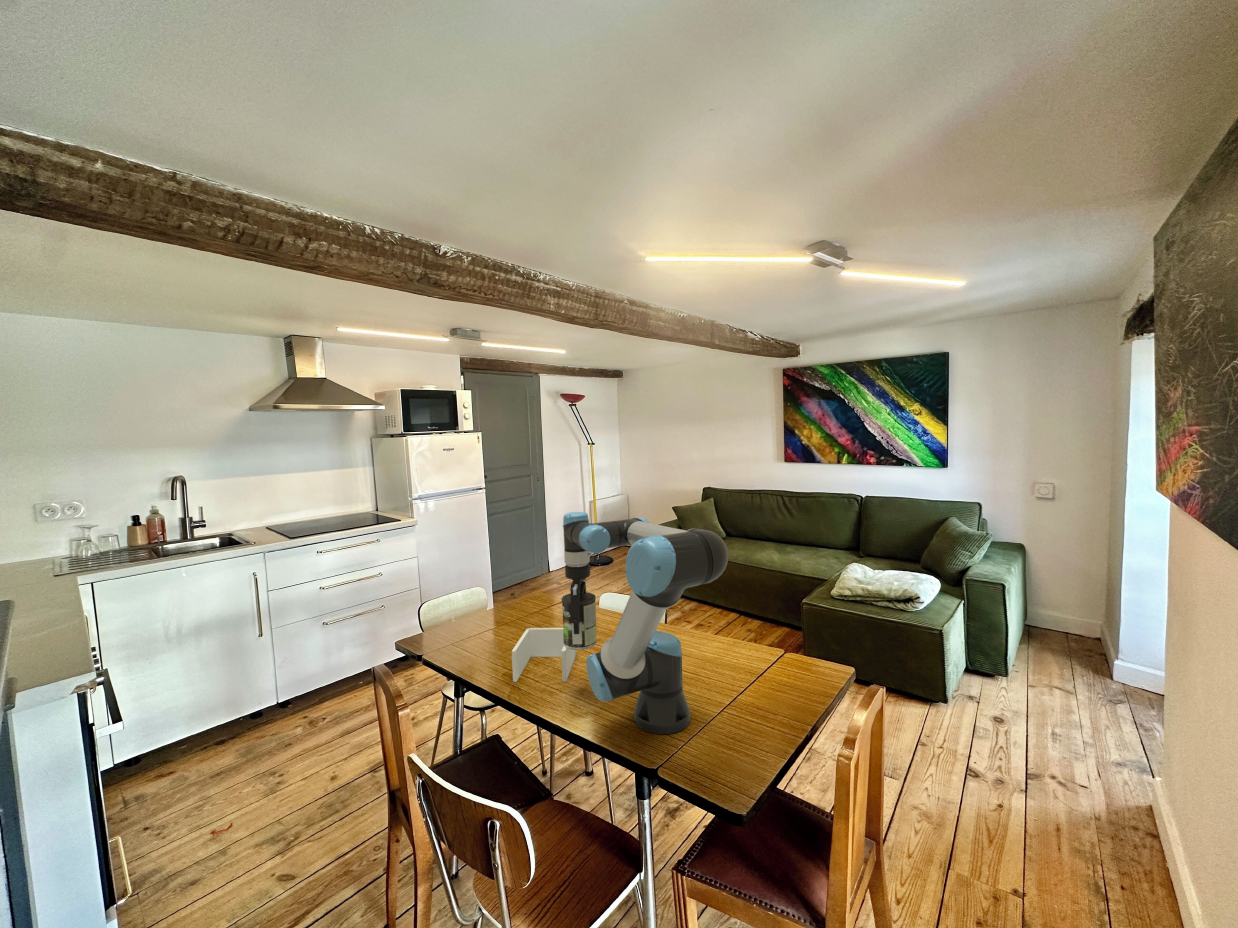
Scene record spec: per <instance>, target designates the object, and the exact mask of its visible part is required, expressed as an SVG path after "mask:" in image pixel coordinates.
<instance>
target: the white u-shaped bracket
mask: <svg viewBox="0 0 1238 928" xmlns="http://www.w3.org/2000/svg"><path fill="white" fill-rule="evenodd" d="M563 643H564V636H563V627H526V629H525V631H524V632H523V634H522V635H521V637H520V638H519V639H518V641H517V643H516V644H515V645H514V647H513V649H512V650H511V666H512V682H513V683H514V682H515V683H516V682H517V681H518V680H519V678H520V676H521V675H522V673H523V671H524V670H525V667H526V666H527V664H528V662H529V661H530V659H531V658H533V657H534V658H535V657H537V658H538V657H539V658H540V657H541V658H542V657H543V658H545V657H547V658H548V657H551V658H557V657H558V658H559V657H561V674H562V675H561V676H562V677H561V678H562V682H563V683H565V682H567V681H568V679H569V675H570V674H571V669H572V667H573V665H574V662H575V659H576V656H577V650H573V649H568V648H566V647H565V646H564V644H563Z"/></svg>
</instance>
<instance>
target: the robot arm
mask: <svg viewBox="0 0 1238 928" xmlns="http://www.w3.org/2000/svg"><path fill="white" fill-rule="evenodd" d="M588 515H589V514H588V513H587V512H585V511H572V512H571V511H570V512H566V513H565V514H564V515H563V519H562V520H563V521H562V524H563V525H562V528H563V547H564V548H563V549H564V550H563V552H564V553H563V554H564V555H563V556H564V564H565V566H564V574H565V578H566V579H568V580H572V582H571V584H570V588H569V590H570V591H569V592H570V593H571V620H569V623H572V639H573V644H582V623H581V608H580V602H581V600H582V599H583V595H584V594H585V592H587V583H586V579H587V578H589V577H590V576H591V564H590V560H591V559H590V556H592V554H601V553H603V552H604V551H606V550H607V549H612V548H617V547H619V548H620V547H624V546H630V548H629V550H628V552H627V554H626V559H625V564H626V568H625V577H626V580H627V583H628V585H629V587H630V589H631V593H630V596H629V598H628V601H627V602H626V605H625V606H624V609H623V612H622V614H621V616H620V619H619V621H618V623H617V625H616V626H617V627H616V628H615V631H614V633H613V636H612V637H609V638H608V639H607V640H605V642H603V644H602V646H601V649H600V651H599V652H596V653H595V652H594V653H591V654H589V655H588V656H587V658H586V663H585V666H586V674H587V678H588V682H589V685H590V687H591V690H592V693H593V694H594V696H595V698H596V699H597V700H599V701H600V702H604V703H605V702H609V701H614V700H616V699H618V698H622V697H625V696H628V695H632V694H634V693H637V692H639V693H638V697H637V700H636V703H635V707H634V721H635V724H636V725H637V726H638V727H639V728H640V729H642V730H643V731H645V732H648V733H651V734H656V735H671V734H675V733H678V732H681V731H683V730H684V729H685V728H686V727H688V726H689V724H690V721H691V712H690V711H691V710H690V707H689V704H688V701H687V699H686V696H685V693H684V690H683V684H684V683H683V649H682V643H681V640H680V639H679V638H678V637H677V636H676V635H675V634H672V633H669V632H666V631H660V630H657V629H658V628H659V627H658V626H659V625H660V623H661V620H662V619H663V617H664V615H665V613H666V611H667V609H669V608H672V607H673V606H675V605H676V604H677V603H678V602H679V600H680V599H681V597H682V595H683V593H684V591H685V590H686V589H688V588H693V587H697V586H703V585H705V584H706V585H707V584H711V583H712V582H713V581H715V580H717V579H718V578H719V577H720V576H722V574H723V573H724V571H725V570H726V568H727V565H728V561H729V550H728V548H727V547H728V546H727V544H726V543H725V541H724V540H723V538H722V537H721V536H720V535H719V534H718V533H715V532H714V531H712V530H707V529H702V528H690V529H687V530H685V529H680V528H675V527H670V526H665V525H660V524H655V523H650V522H649V521H647V520H648V519H646V518H645V517H632V518H627V519H626V518H625V519H620V520H610V521H604V522H603V521H602V522H595V523H593V522H592V523H591V522H590V519H589V516H588ZM574 618H577V619H574Z"/></svg>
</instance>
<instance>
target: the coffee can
mask: <svg viewBox="0 0 1238 928" xmlns="http://www.w3.org/2000/svg"><path fill="white" fill-rule="evenodd" d="M596 598H597V596H596V594H594V593H592V592H587V591H586V592H585V594H584V595H583V599H582V600H581V602H580V608H581V623H582V644H573V639H572V623H569V620H571V592H570V593H567V594H565V595H563V596H562V597H561V606H562V607H561V608H562V628H563V636H564V643H563V644H564V646H565V647H566V648H568V649H573V650H576V651H582V650H588V649H591V648H593V647H594V646H596V645H597V643H598V640H597V637H598V635H597V610H596V608H597V606H596V603H597V602H596ZM574 619H577V618H574Z"/></svg>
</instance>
